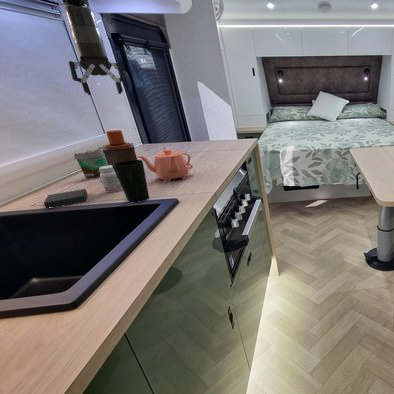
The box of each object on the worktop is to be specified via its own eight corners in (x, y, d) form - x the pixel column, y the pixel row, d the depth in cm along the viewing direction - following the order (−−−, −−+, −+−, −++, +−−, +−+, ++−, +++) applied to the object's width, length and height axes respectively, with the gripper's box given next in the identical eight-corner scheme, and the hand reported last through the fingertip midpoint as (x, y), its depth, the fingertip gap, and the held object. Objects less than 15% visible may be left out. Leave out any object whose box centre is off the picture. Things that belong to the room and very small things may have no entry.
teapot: (179, 184, 105) (172, 154, 101) (143, 183, 107) (134, 154, 103) (202, 172, 119) (196, 145, 115) (169, 171, 120) (163, 145, 116)
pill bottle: (104, 190, 100) (96, 167, 97) (121, 186, 103) (113, 164, 100) (107, 193, 97) (98, 169, 94) (124, 190, 100) (116, 166, 97)
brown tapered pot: (113, 182, 108) (102, 150, 104) (113, 176, 115) (103, 146, 111) (143, 177, 114) (134, 146, 109) (141, 171, 120) (133, 143, 116)
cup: (158, 195, 95) (148, 160, 91) (138, 204, 88) (126, 167, 84) (139, 194, 97) (128, 159, 92) (118, 202, 90) (105, 165, 85)
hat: (105, 149, 105) (100, 133, 103) (106, 146, 111) (101, 130, 108) (131, 146, 109) (126, 131, 107) (130, 143, 115) (126, 128, 113)
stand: (46, 209, 86) (43, 202, 85) (50, 200, 92) (48, 195, 91) (85, 201, 91) (83, 195, 90) (87, 194, 97) (85, 188, 96)
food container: (98, 179, 112) (89, 153, 108) (82, 179, 112) (72, 153, 108) (121, 169, 123) (114, 146, 119) (107, 170, 123) (99, 146, 119)
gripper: (113, 45, 103) (127, 93, 109) (59, 41, 94) (77, 94, 100) (117, 43, 98) (131, 93, 104) (60, 39, 89) (79, 95, 95)
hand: (105, 94), depth 102 cm, fingers open, 8 cm apart
